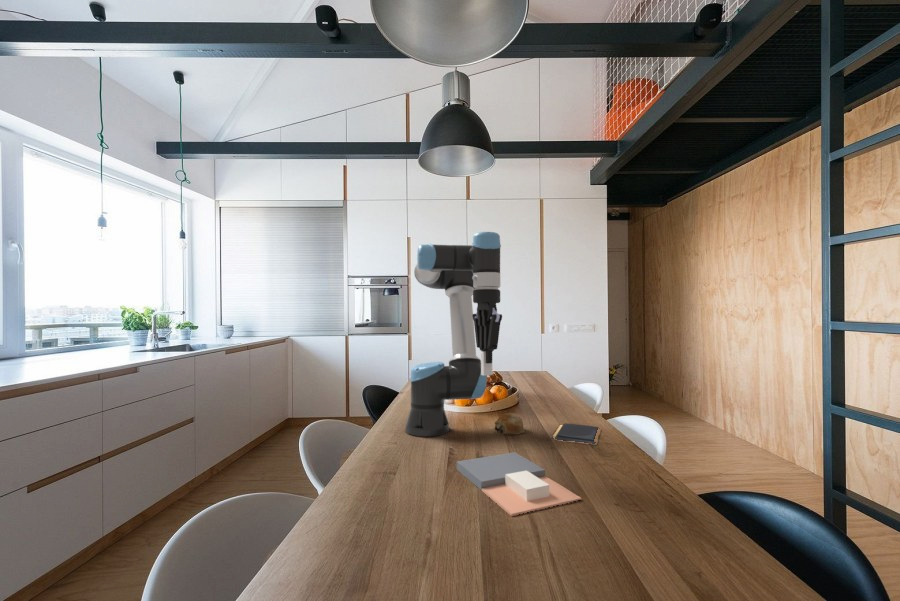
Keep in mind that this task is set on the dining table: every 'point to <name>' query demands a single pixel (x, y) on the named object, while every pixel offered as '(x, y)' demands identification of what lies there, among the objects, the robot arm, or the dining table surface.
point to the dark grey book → (576, 433)
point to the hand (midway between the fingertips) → (486, 374)
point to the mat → (519, 505)
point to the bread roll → (509, 424)
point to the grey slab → (496, 469)
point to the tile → (527, 485)
